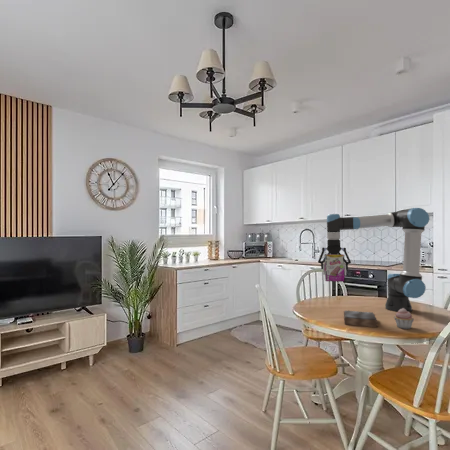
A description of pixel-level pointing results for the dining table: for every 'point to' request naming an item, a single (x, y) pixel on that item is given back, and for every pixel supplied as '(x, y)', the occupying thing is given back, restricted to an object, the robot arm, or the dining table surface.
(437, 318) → the dining table surface
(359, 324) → the podium
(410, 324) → the cupcake
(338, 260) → the candy bar box
